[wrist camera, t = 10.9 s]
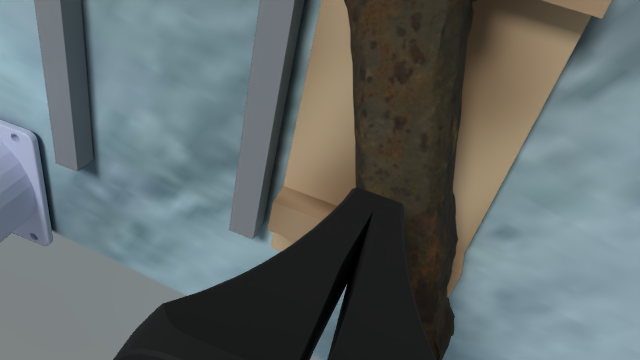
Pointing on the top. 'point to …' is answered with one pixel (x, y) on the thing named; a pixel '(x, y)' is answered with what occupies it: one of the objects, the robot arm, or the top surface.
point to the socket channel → (260, 112)
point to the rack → (476, 115)
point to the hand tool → (413, 132)
